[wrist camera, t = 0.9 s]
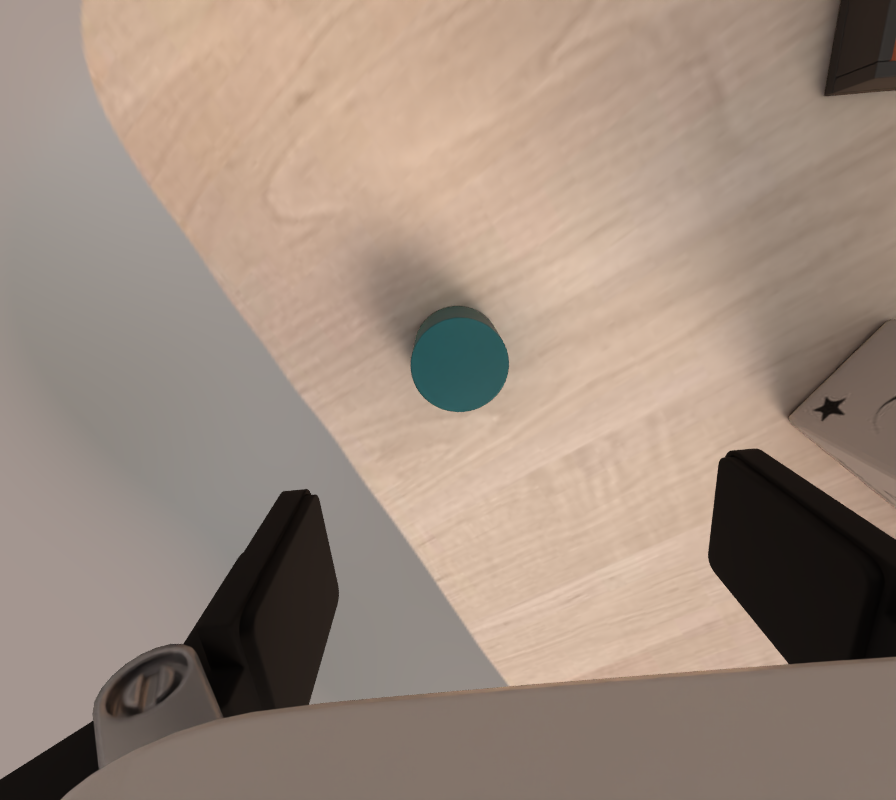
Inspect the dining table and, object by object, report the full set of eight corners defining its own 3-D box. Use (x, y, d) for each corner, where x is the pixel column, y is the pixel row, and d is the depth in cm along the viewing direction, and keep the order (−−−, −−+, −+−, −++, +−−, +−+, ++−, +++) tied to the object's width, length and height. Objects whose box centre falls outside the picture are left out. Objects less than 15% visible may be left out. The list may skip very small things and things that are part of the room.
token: (409, 309, 25) (405, 321, 21) (497, 302, 25) (507, 313, 21) (418, 392, 26) (415, 416, 23) (501, 386, 26) (510, 408, 23)
